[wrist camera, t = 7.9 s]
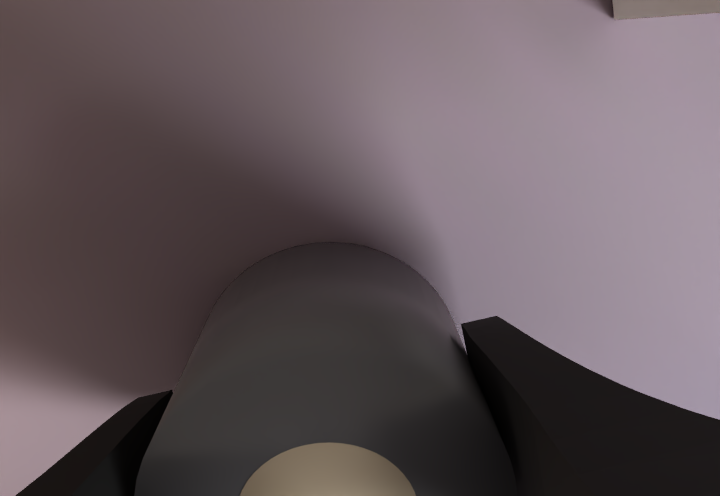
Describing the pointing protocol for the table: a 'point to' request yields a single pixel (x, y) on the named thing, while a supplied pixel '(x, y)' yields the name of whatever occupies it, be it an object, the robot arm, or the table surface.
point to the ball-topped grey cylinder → (328, 389)
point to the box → (662, 8)
